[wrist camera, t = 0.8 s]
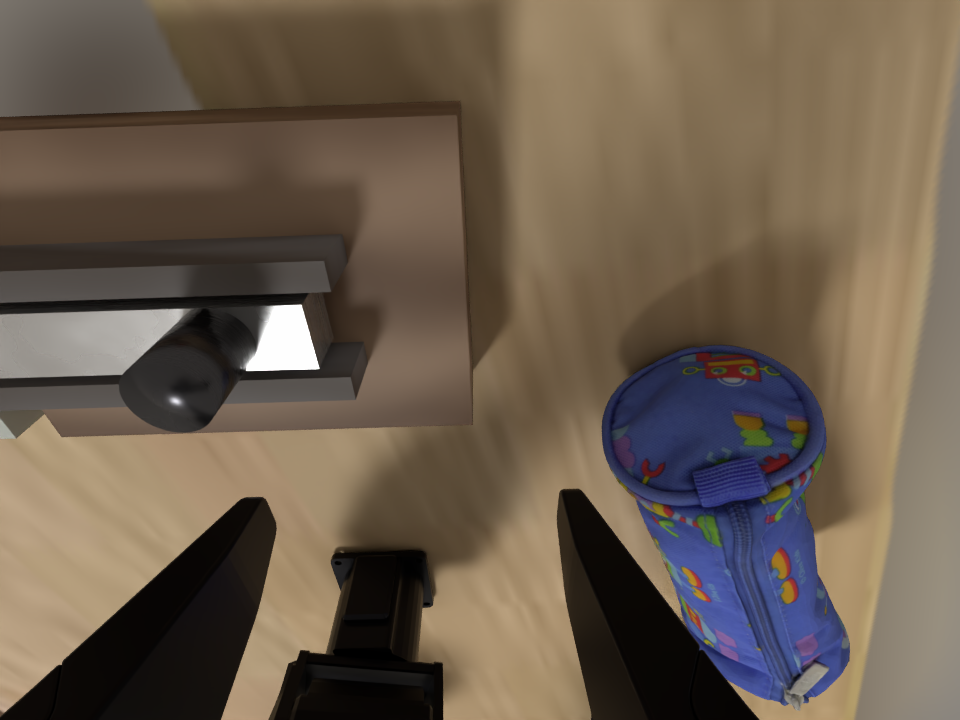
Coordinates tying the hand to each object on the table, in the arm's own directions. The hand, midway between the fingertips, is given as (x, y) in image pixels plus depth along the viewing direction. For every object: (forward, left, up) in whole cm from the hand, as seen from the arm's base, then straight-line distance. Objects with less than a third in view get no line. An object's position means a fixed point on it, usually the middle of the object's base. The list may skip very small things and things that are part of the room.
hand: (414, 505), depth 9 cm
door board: (0, +8, -13) cm, 15 cm away
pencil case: (-15, -15, -14) cm, 25 cm away
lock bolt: (0, +10, -9) cm, 13 cm away
